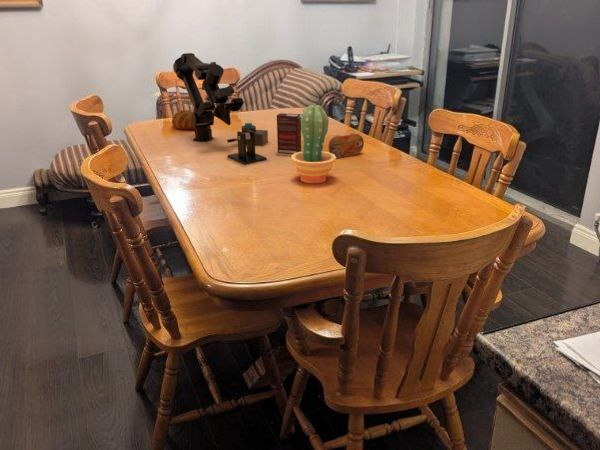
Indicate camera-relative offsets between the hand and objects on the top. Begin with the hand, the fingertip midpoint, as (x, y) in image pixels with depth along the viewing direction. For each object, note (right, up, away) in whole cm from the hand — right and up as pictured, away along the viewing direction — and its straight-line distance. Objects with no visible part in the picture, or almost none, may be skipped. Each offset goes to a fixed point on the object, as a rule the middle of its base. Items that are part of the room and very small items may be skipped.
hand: (229, 124), depth 206 cm
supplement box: (+23, -11, +3) cm, 26 cm away
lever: (+5, -7, -4) cm, 9 cm away
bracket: (+7, -14, -4) cm, 16 cm away
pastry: (-27, +11, +43) cm, 52 cm away
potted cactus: (+32, -24, -25) cm, 47 cm away
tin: (+45, -12, +1) cm, 47 cm away
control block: (+8, -5, +17) cm, 20 cm away
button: (+6, +2, +16) cm, 17 cm away
